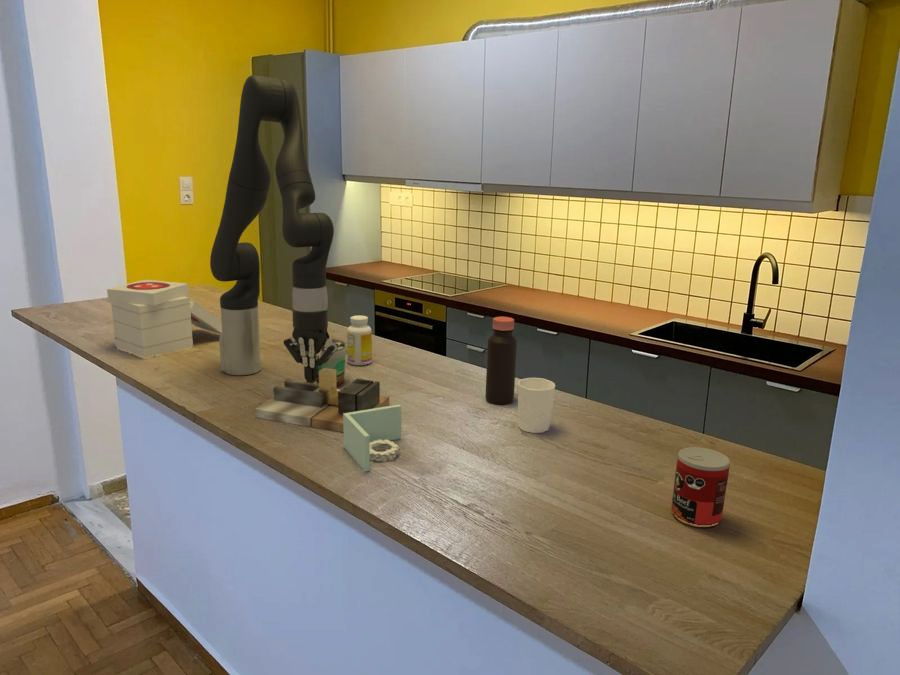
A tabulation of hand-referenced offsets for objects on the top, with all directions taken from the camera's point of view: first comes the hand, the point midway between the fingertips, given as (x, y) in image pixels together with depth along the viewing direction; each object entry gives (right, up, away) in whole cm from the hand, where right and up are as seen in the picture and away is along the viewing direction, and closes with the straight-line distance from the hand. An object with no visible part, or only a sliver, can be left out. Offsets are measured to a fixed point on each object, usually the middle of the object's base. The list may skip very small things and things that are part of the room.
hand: (311, 381), depth 153 cm
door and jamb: (+3, -7, +1) cm, 7 cm away
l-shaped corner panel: (+18, -13, -19) cm, 29 cm away
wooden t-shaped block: (+6, -5, -1) cm, 8 cm away
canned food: (+72, -20, -39) cm, 84 cm away
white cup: (+49, -10, -4) cm, 50 cm away
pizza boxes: (-50, +8, +47) cm, 70 cm away
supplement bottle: (+6, +3, +36) cm, 36 cm away
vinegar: (+43, -5, +11) cm, 44 cm away
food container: (+2, -2, +19) cm, 19 cm away
